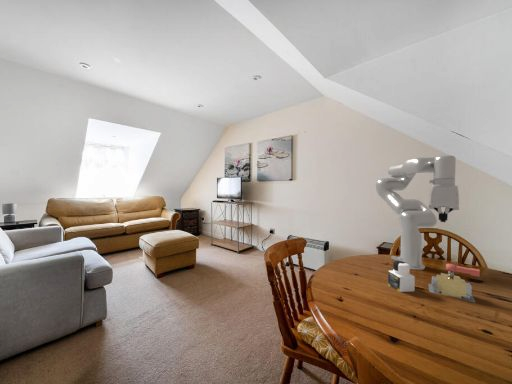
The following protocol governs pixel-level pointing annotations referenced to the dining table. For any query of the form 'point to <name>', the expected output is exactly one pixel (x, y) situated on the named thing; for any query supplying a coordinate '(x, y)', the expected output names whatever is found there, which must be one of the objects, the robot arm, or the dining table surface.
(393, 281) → the medicine bottle
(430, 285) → the mat
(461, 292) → the valve
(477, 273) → the lever
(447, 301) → the dining table surface
